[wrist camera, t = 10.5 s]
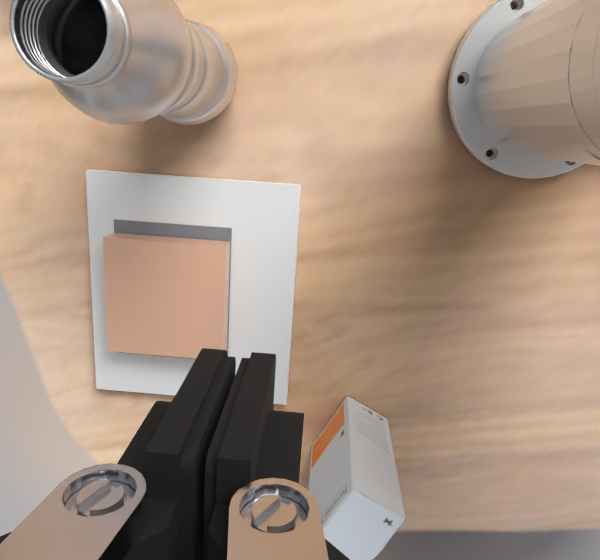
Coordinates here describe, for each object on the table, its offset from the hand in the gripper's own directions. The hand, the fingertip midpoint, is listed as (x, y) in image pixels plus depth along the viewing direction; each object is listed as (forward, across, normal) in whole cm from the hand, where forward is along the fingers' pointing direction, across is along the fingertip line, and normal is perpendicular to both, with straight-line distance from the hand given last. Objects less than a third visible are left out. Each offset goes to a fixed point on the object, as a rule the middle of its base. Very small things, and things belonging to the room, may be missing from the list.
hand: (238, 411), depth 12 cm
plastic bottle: (+29, +8, -9) cm, 32 cm away
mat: (+29, +8, +7) cm, 31 cm away
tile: (+27, +5, +7) cm, 28 cm away
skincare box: (+29, -5, +19) cm, 35 cm away
